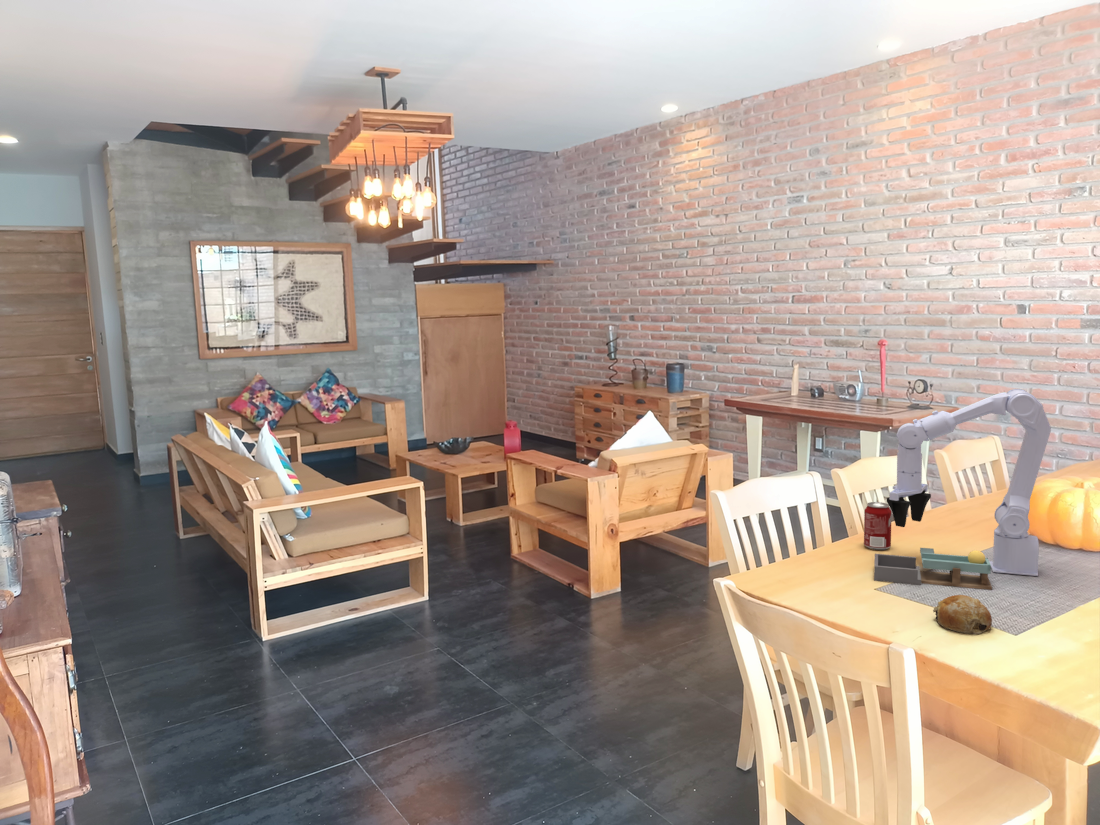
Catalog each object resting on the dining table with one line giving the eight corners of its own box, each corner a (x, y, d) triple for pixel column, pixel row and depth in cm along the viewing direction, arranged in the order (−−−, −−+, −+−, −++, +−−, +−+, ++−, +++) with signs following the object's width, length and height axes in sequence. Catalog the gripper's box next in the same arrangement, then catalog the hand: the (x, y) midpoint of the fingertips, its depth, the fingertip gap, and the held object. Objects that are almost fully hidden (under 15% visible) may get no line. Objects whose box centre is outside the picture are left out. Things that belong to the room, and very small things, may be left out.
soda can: (886, 552, 209) (888, 508, 207) (860, 548, 213) (861, 505, 211) (893, 546, 214) (894, 503, 212) (867, 542, 218) (868, 500, 216)
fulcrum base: (987, 578, 186) (988, 561, 186) (991, 589, 179) (992, 572, 179) (919, 572, 192) (920, 556, 192) (921, 583, 185) (921, 566, 184)
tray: (919, 571, 193) (919, 557, 193) (921, 585, 184) (921, 570, 183) (874, 567, 197) (874, 553, 197) (874, 580, 188) (874, 566, 187)
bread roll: (957, 652, 156) (973, 623, 152) (919, 615, 164) (933, 587, 160) (991, 643, 160) (1008, 614, 156) (952, 607, 168) (968, 579, 164)
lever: (982, 555, 193) (983, 547, 193) (990, 574, 180) (990, 565, 180) (920, 550, 198) (920, 542, 198) (923, 568, 185) (923, 559, 185)
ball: (984, 564, 184) (984, 549, 184) (986, 568, 181) (986, 553, 181) (966, 562, 186) (967, 547, 185) (968, 567, 182) (968, 552, 182)
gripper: (909, 465, 206) (908, 515, 208) (878, 473, 198) (877, 525, 199) (936, 468, 200) (935, 520, 202) (905, 477, 192) (904, 531, 193)
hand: (908, 523), depth 200 cm, fingers open, 7 cm apart
